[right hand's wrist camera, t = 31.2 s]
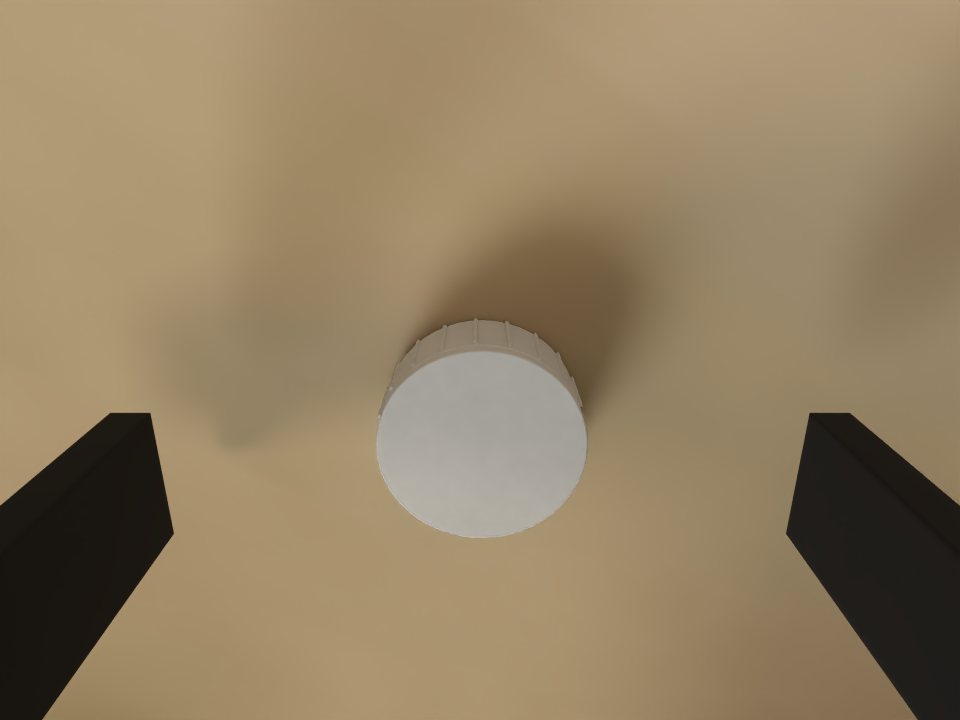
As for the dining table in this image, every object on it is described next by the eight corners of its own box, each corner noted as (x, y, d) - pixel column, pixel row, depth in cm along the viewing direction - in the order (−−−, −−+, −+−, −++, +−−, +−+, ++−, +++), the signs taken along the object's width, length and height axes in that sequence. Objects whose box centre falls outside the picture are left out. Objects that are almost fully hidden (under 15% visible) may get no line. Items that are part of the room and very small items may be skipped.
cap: (428, 286, 15) (421, 313, 13) (610, 362, 15) (628, 398, 13) (359, 451, 16) (343, 498, 14) (527, 513, 17) (533, 566, 15)
